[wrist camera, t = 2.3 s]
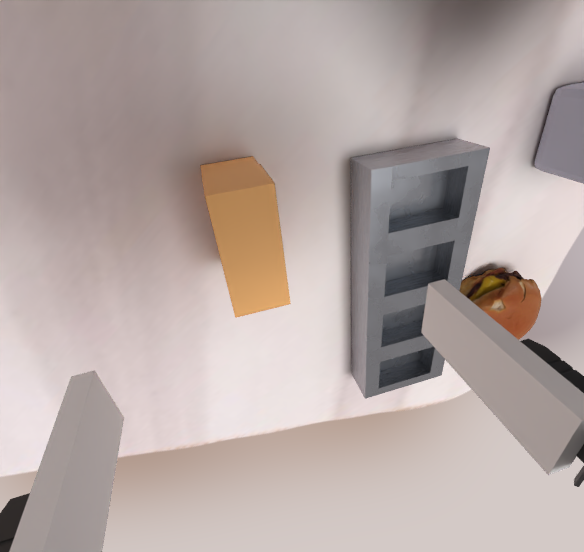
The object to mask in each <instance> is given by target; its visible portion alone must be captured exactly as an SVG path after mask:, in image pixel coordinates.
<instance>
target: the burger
mask: <svg viewBox="0 0 584 552" xmlns="http://www.w3.org/2000/svg"><path fill="white" fill-rule="evenodd" d="M460 292H461V293H462V294H463V295H464V296H466V297H467V298H468V299H469V300H471V301H472V302H473V303H474V304H475V305H477V306H478V307H479V308H480V309H481V310H483V311H484V312H485V313H486V314H488V315H489V316H490V317H491V318H492V319H494V320H495V321H496V322H497V323H499V324H500V325H501V326H502V327H503V328H505V329H506V330H507V331H508V332H510V333H511V334H512V335H513V336H514V337H516V338H517V339H518V340H519V339H520V338H522V337H523V336H524V335H525V334H526V333H527V332H528V331H529V330H530V329H531V328H532V326H533V325H534V323H535V321H536V319H537V316H538V313H539V310H540V306H541V295H540V290H539V288H538V286H537V284H536V283H535V281H534V280H532V279H529V280H527V279H523V278H522V277H521V275H520V274H519V273H518V272H517V271H514V272H513V273H507V272H505V269H504V268H498V269H495V270H488V271H485V272H484V274H482V275H479V276H472V277H468V278H466V279H465V280H463V281H462V282H461V286H460Z"/></svg>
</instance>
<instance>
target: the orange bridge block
mask: <svg viewBox="0 0 584 552" xmlns="http://www.w3.org/2000/svg"><path fill="white" fill-rule="evenodd" d="M200 167H201V173H202V182H203V188H204V195H205V199H206V203H207V207H208V211H209V215H210V219H211V223H212V227H213V231H214V235H215V239H216V243H217V246H218V250H219V254H220V258H221V262H222V266H223V270H224V274H225V278H226V282H227V286H228V290H229V294H230V298H231V302H232V306H233V310H234V314H235V317H240V316H244V315H248V314H252V313H256V312H260V311H264V310H268V309H272V308H276V307H280V306H284V305H288V304H290V297H289V289H288V282H287V274H286V267H285V259H284V252H283V244H282V236H281V229H280V221H279V214H278V206H277V199H276V191H275V184H274V182H273V181H272V179H271V178H270V177H269V175H268V174H267V172H266V171H265V170H264V168H263V167H262V166H261V164H258V163H257V161H256V160H255V159H254V157H253V156H252V157H246V158H240V159H234V160H228V161H223V162H217V163H211V164H205V165H200Z"/></svg>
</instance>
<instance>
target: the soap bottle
mask: <svg viewBox="0 0 584 552" xmlns="http://www.w3.org/2000/svg"><path fill="white" fill-rule="evenodd" d="M535 167H536V168H537V169H539V170H541V171H544V172H548V173H551V174H554V175H557V176H561V177H564V178H567V179H571V180H574V181H577V182H580V183H584V82H582V83H576V84H571V85H567V86H563V87H560V88H558V89H557V90H556V92H555V93H554V95H553V99H552V102H551V106H550V109H549V113H548V116H547V120H546V123H545V127H544V130H543V134H542V138H541V141H540V145H539V148H538V152H537V155H536V159H535Z"/></svg>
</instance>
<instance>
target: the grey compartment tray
mask: <svg viewBox="0 0 584 552" xmlns="http://www.w3.org/2000/svg"><path fill="white" fill-rule="evenodd" d="M489 150H490V148H489V147H485V146H482V145H478V144H475V143H471V142H468V141H464V140H461V139H452V140H447V141H441V142H436V143H430V144H425V145H419V146H414V147H408V148H403V149H397V150H392V151H386V152H380V153H375V154H369V155H364V156H358V157H353V158H351V332H352V375H353V377H354V379H355V381H356V382H357V384H358V386H359V388H360V390H361V392H362V394H363V396H364V397H365V398H369V397H372V396H375V395H379V394H382V393H385V392H388V391H392V390H395V389H398V388H401V387H405V386H408V385H411V384H414V383H418V382H421V381H424V380H428V379H431V378H434V377H437V376H441V375H442V370H443V366H444V361H445V359H444V357H443V356H442V355H441V354H440V353H439V352H438V351H437V350H436V349H435V347H434V346H433V345H432V344H431V343H430V342H429V341H428V340H427V338H426V337H425V336H424V335H423V334H422V333H421V331H422V324H423V317H424V310H425V303H426V296H427V289H428V283H432V282H436V281H440V280H444V279H445V280H446V281H447V282H449V283H450V284H451V285H452V286H453V287H455V288H456V289H457V290H458V291H460V286H461V281H462V277H463V272H464V267H465V262H466V258H467V253H468V248H469V244H470V239H471V234H472V230H473V225H474V220H475V216H476V211H477V206H478V202H479V197H480V192H481V188H482V183H483V178H484V173H485V169H486V164H487V159H488V155H489Z"/></svg>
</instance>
